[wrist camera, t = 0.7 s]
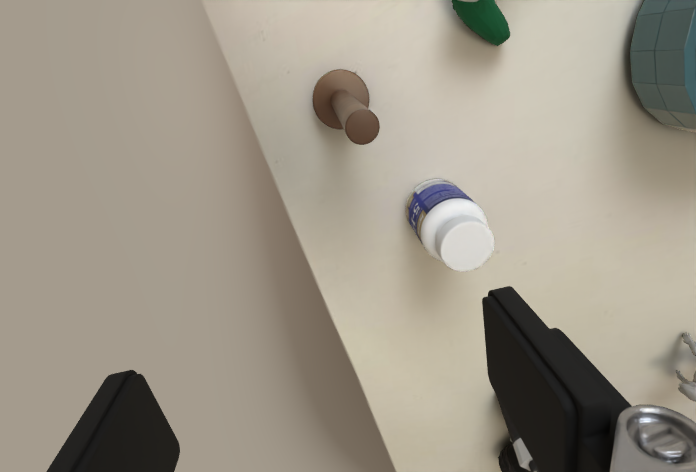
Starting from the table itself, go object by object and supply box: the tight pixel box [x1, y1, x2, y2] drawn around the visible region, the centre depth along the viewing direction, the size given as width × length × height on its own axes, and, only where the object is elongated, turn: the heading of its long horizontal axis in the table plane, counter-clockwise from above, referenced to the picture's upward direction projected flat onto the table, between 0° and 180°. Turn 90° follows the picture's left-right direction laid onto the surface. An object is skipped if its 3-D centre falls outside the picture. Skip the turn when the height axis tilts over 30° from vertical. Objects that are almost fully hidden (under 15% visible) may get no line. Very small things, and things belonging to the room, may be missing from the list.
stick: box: [313, 70, 379, 145], centre depth 26 cm, size 4×4×15 cm
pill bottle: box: [406, 179, 495, 272], centre depth 33 cm, size 5×5×9 cm
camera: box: [497, 396, 539, 472], centre depth 45 cm, size 15×11×10 cm
